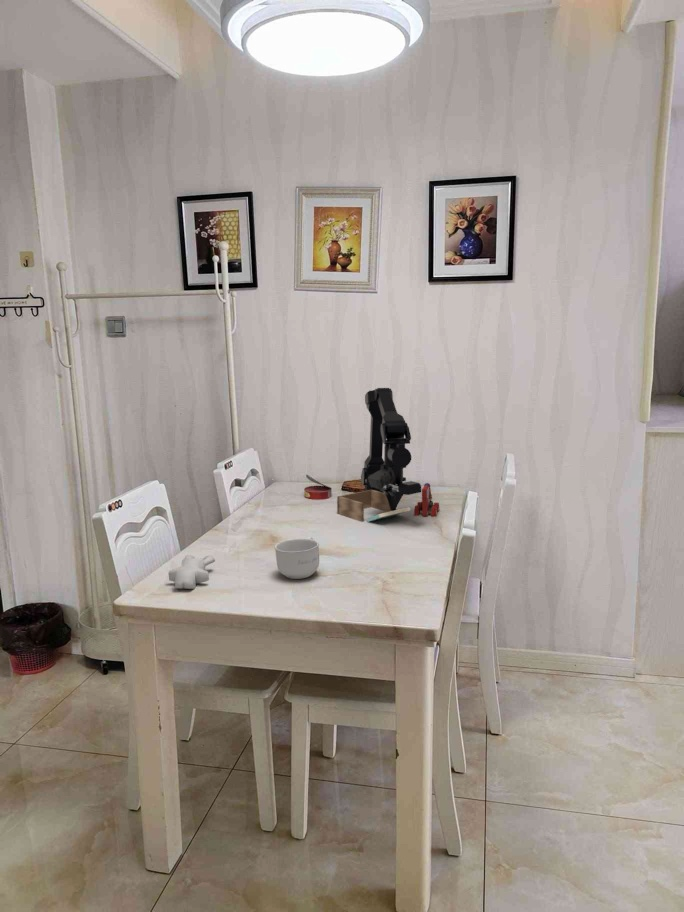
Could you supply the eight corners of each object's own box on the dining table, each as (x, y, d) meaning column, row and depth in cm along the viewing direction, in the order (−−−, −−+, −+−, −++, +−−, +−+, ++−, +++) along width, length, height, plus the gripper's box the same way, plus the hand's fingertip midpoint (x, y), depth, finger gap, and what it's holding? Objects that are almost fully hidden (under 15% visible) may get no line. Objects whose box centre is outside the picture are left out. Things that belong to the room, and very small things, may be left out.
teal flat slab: (366, 518, 207) (380, 513, 202) (395, 512, 214) (409, 506, 209) (367, 521, 207) (381, 516, 201) (396, 515, 214) (410, 510, 209)
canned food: (307, 506, 249) (307, 480, 252) (334, 504, 247) (333, 478, 250) (300, 499, 238) (300, 472, 241) (328, 497, 236) (327, 469, 239)
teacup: (302, 586, 159) (302, 553, 158) (266, 577, 165) (265, 546, 163) (334, 568, 171) (334, 537, 169) (299, 561, 176) (299, 531, 175)
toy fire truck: (440, 512, 223) (440, 481, 221) (435, 522, 211) (435, 489, 209) (419, 510, 225) (419, 480, 223) (413, 520, 213) (413, 488, 211)
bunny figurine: (161, 575, 155) (181, 547, 170) (164, 595, 157) (182, 566, 171) (202, 576, 155) (218, 548, 169) (204, 596, 156) (219, 566, 171)
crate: (337, 517, 217) (337, 496, 215) (371, 510, 225) (371, 489, 224) (361, 525, 207) (361, 503, 206) (396, 517, 216) (396, 496, 215)
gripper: (353, 459, 205) (353, 509, 208) (395, 469, 191) (394, 522, 194) (380, 455, 212) (380, 503, 215) (423, 464, 198) (422, 516, 201)
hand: (393, 511), depth 206 cm, fingers closed, pressing on teal flat slab
